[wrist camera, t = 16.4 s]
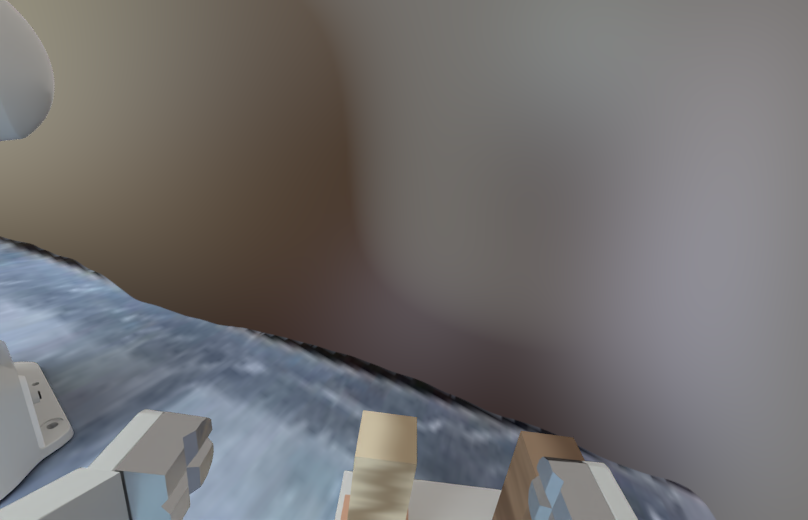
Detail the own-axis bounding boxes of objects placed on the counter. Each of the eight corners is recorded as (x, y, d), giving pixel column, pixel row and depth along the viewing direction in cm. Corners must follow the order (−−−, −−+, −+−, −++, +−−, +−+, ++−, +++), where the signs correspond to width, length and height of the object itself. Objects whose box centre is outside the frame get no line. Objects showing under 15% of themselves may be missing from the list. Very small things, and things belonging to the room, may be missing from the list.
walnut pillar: (501, 575, 30) (537, 479, 27) (491, 521, 35) (520, 431, 31) (554, 581, 31) (597, 487, 27) (538, 526, 35) (573, 437, 31)
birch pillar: (342, 556, 30) (355, 456, 26) (351, 503, 34) (363, 410, 30) (396, 562, 30) (416, 464, 26) (399, 509, 34) (416, 417, 30)
